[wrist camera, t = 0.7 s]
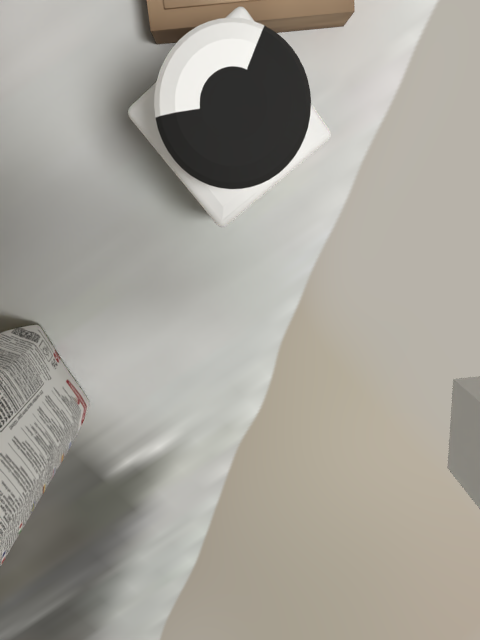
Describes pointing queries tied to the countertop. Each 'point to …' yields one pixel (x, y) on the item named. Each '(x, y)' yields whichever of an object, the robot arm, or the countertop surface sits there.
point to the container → (230, 113)
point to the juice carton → (32, 424)
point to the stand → (261, 3)
